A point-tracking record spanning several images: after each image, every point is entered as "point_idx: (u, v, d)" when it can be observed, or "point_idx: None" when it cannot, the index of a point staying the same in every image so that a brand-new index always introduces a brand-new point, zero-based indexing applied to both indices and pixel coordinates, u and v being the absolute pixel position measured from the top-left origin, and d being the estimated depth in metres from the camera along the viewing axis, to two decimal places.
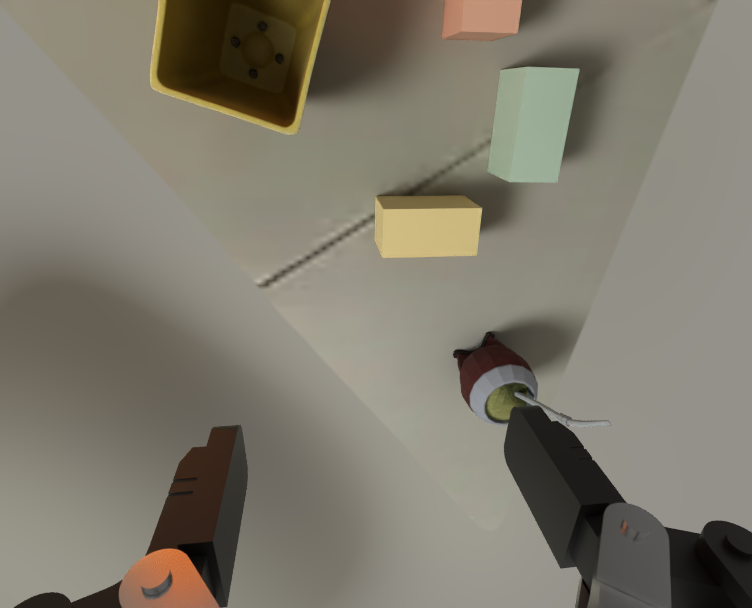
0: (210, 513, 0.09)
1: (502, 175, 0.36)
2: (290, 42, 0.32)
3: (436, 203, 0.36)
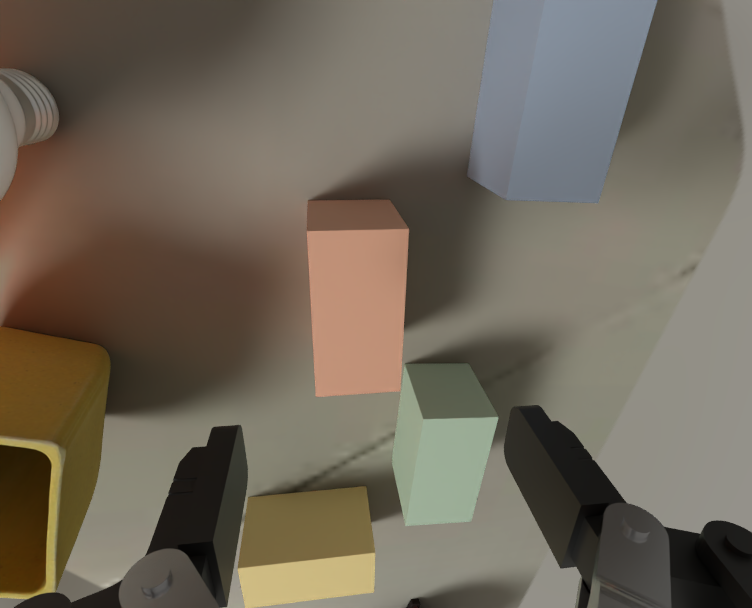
0: (210, 513, 0.09)
1: (401, 501, 0.27)
2: None
3: (318, 532, 0.27)
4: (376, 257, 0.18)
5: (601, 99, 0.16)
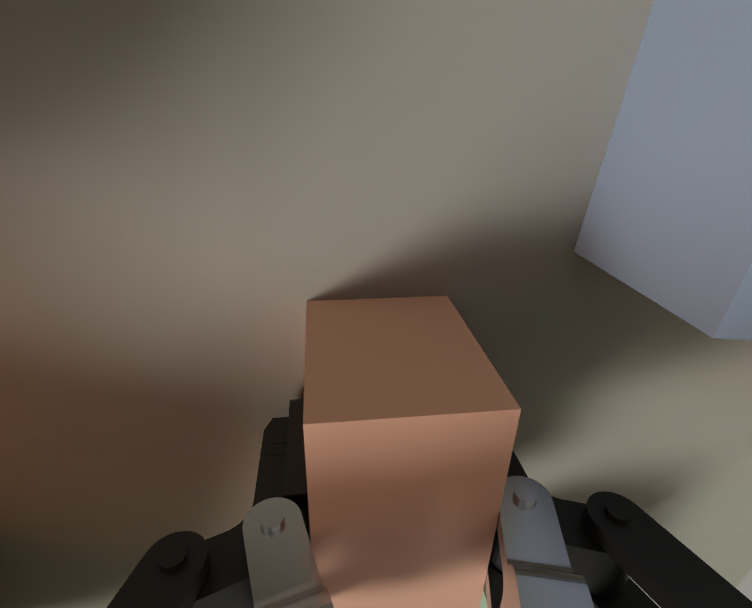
0: (305, 470, 0.10)
1: None
2: None
3: None
4: (449, 460, 0.08)
5: None
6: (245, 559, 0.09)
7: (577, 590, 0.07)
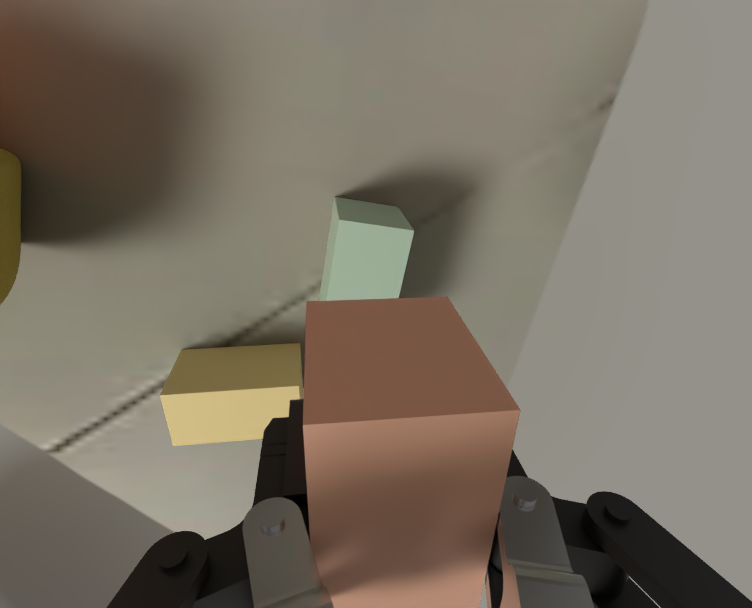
0: (305, 470, 0.10)
1: None
2: None
3: (246, 372, 0.28)
4: (448, 461, 0.08)
5: None
6: (245, 559, 0.09)
7: (577, 590, 0.07)
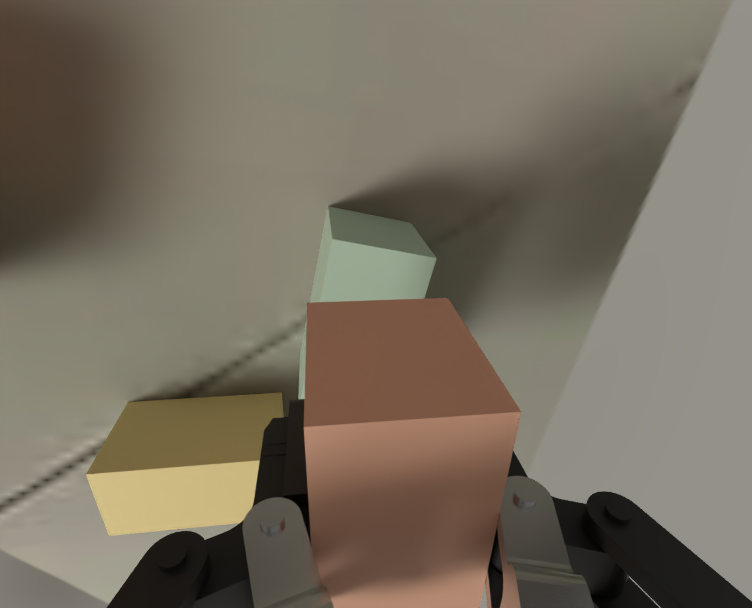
0: (305, 470, 0.10)
1: (299, 388, 0.20)
2: None
3: (207, 437, 0.21)
4: (449, 462, 0.08)
5: None
6: (245, 559, 0.09)
7: (577, 590, 0.07)
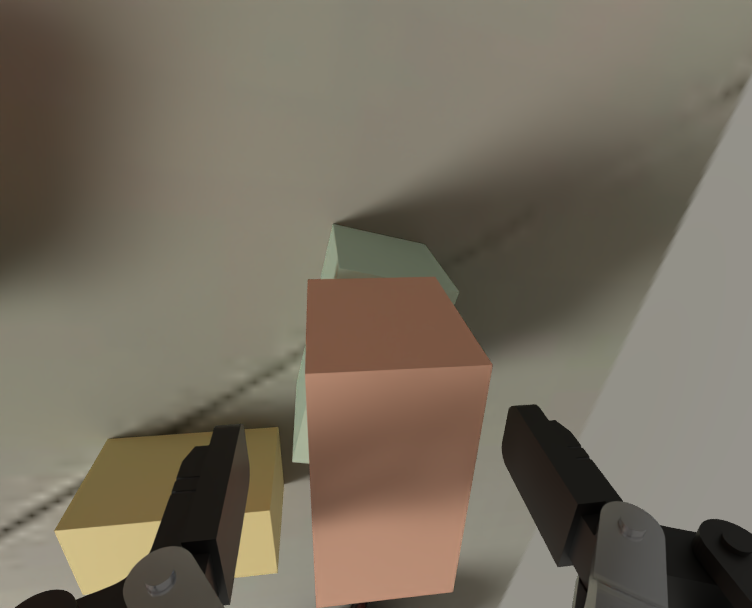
0: (213, 511, 0.09)
1: (295, 429, 0.18)
2: None
3: None
4: (431, 410, 0.10)
5: None
6: None
7: None
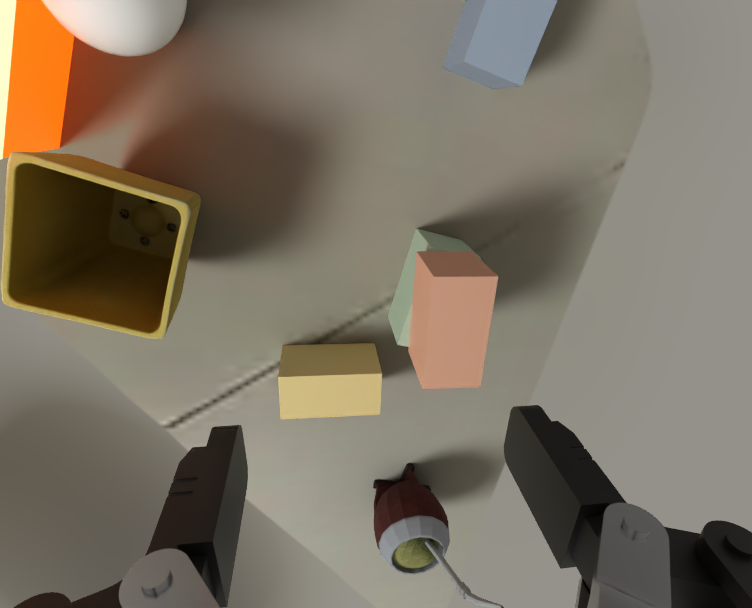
0: (210, 513, 0.09)
1: (395, 332, 0.35)
2: None
3: (338, 362, 0.36)
4: (475, 294, 0.27)
5: (534, 10, 0.25)
6: None
7: None
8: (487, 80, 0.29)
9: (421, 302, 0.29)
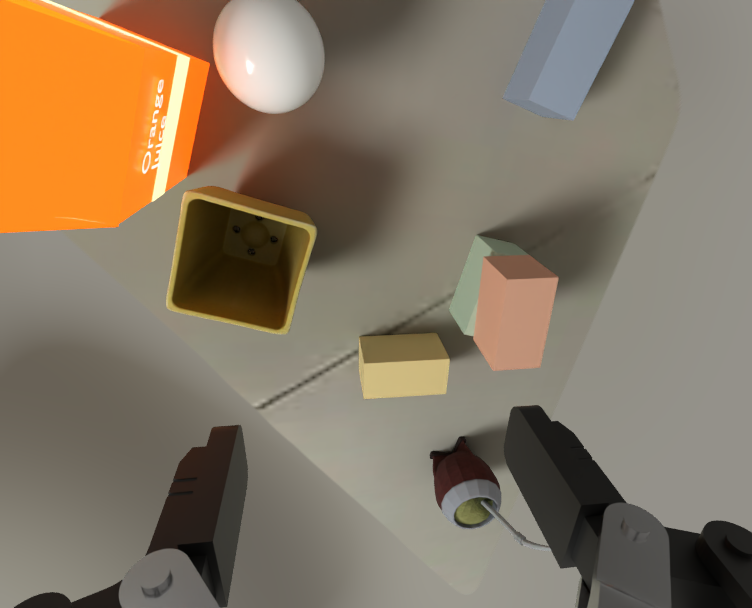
0: (210, 513, 0.09)
1: (460, 324, 0.41)
2: (283, 228, 0.38)
3: (411, 350, 0.42)
4: (540, 292, 0.33)
5: (588, 60, 0.31)
6: None
7: None
8: (542, 112, 0.35)
9: (491, 299, 0.35)
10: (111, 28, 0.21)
